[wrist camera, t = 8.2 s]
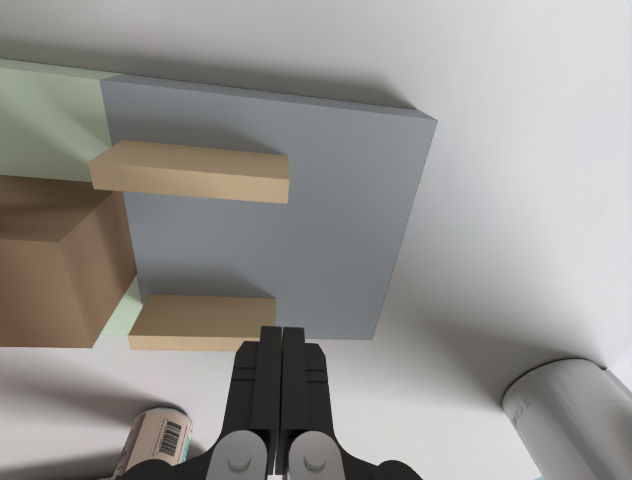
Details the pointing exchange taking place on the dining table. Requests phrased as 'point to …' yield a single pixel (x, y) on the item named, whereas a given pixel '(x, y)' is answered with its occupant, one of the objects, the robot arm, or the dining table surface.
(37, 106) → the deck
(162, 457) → the beer can
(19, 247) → the block
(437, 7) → the dining table surface
